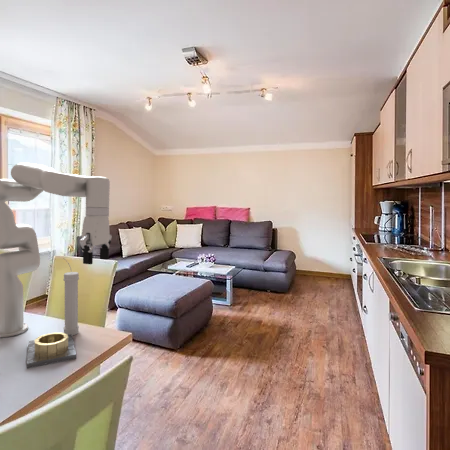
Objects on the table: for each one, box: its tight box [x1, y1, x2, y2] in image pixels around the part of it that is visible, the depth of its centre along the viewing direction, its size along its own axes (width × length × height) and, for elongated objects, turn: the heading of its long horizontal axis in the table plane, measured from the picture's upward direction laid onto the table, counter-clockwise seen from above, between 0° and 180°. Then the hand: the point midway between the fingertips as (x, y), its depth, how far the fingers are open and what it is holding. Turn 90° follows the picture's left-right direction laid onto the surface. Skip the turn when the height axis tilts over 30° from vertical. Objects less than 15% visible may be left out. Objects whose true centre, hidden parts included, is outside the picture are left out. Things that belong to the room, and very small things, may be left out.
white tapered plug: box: [63, 258, 80, 336], centre depth 125 cm, size 6×6×30 cm
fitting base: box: [26, 331, 77, 369], centre depth 111 cm, size 18×14×6 cm
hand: (96, 261), depth 111 cm, fingers open, 9 cm apart
